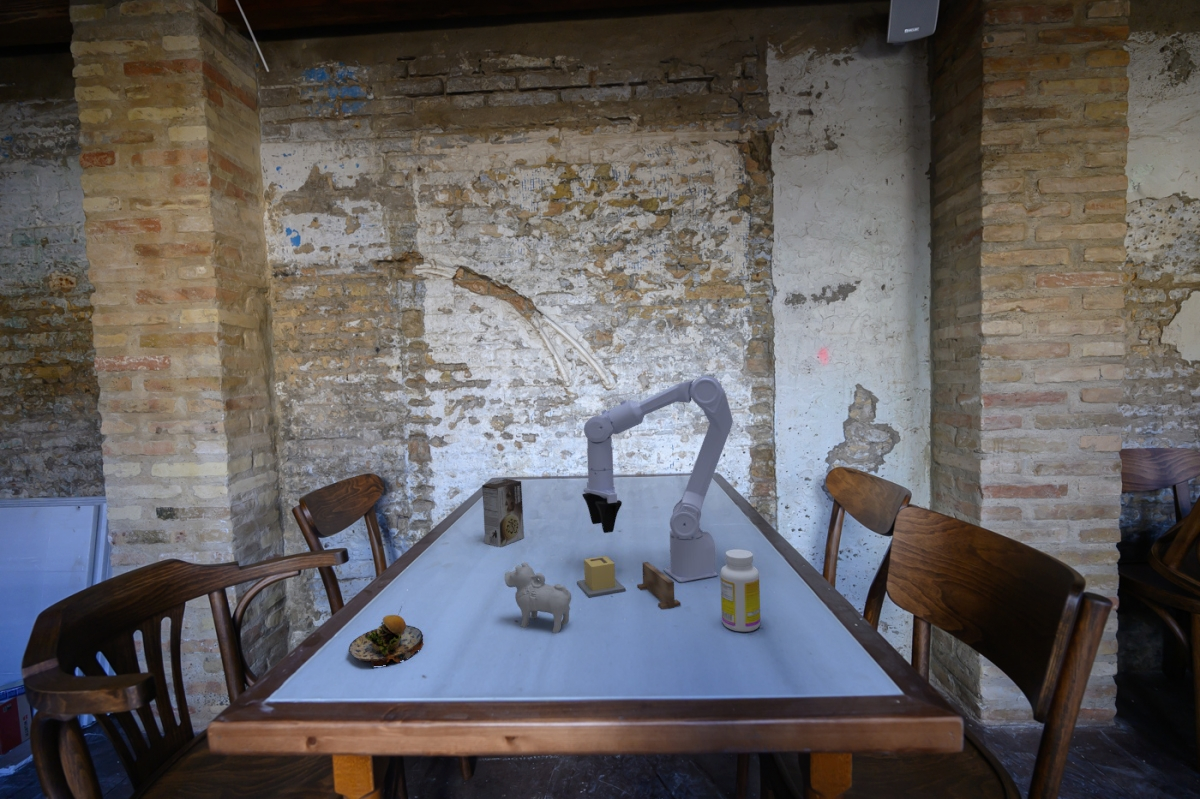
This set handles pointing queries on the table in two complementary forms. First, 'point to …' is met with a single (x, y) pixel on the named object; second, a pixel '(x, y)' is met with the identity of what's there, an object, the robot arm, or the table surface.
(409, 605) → the table surface
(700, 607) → the table surface
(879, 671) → the table surface
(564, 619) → the dog figurine
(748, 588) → the supplement bottle
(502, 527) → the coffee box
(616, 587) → the coaster
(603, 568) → the cube
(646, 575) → the wooden board
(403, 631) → the burger
